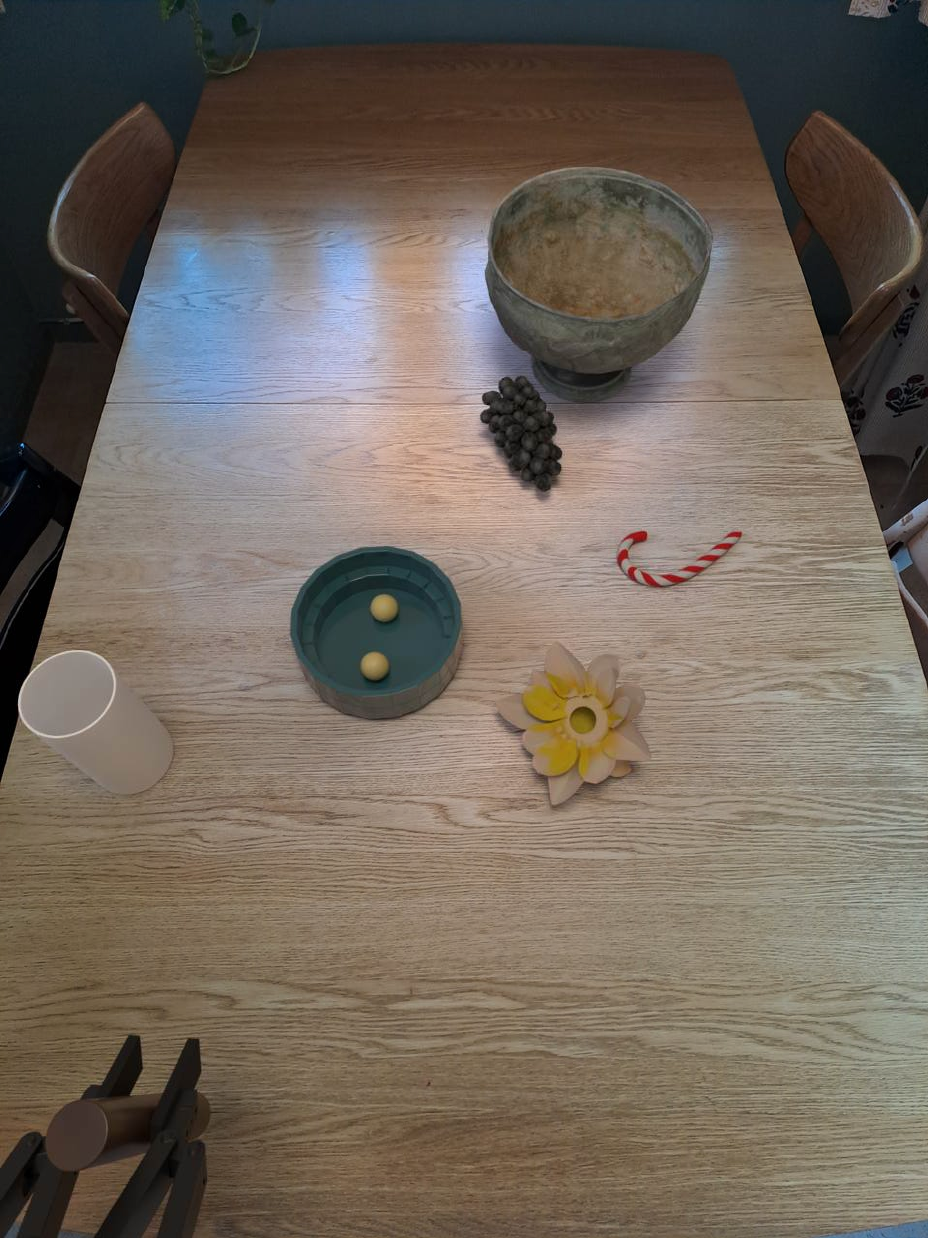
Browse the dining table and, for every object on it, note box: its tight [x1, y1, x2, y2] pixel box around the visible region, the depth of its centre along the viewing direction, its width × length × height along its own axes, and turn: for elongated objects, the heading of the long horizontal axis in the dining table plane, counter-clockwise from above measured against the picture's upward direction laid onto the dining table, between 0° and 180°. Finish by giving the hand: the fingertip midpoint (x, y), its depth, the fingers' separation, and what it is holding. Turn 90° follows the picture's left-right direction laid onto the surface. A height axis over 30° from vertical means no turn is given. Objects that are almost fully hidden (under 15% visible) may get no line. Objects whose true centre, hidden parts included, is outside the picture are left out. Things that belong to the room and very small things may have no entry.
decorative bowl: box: [484, 166, 714, 403], centre depth 102 cm, size 26×26×20 cm
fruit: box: [479, 375, 564, 493], centre depth 100 cm, size 9×8×15 cm
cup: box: [17, 649, 175, 796], centre depth 78 cm, size 8×8×16 cm
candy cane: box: [616, 528, 743, 587], centre depth 96 cm, size 8×1×15 cm
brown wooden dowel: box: [45, 1090, 212, 1172], centre depth 52 cm, size 3×3×20 cm
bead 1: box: [371, 594, 398, 622], centre depth 91 cm, size 3×3×3 cm
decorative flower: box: [495, 640, 652, 806], centre depth 82 cm, size 15×11×10 cm
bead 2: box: [360, 652, 389, 681], centre depth 87 cm, size 3×3×3 cm
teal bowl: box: [289, 545, 463, 719], centre depth 88 cm, size 17×17×6 cm
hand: (165, 1054), depth 55 cm, fingers closed on brown wooden dowel, 3 cm apart
